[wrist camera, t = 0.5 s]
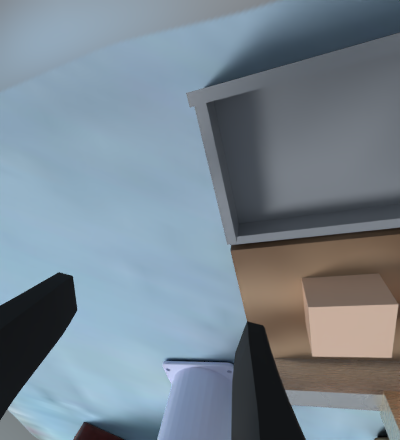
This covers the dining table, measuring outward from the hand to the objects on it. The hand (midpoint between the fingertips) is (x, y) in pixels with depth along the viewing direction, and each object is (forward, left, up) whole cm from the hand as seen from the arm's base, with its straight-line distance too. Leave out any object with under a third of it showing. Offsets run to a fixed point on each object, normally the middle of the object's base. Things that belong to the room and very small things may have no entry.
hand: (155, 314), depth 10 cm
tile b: (-7, -9, -7) cm, 13 cm away
